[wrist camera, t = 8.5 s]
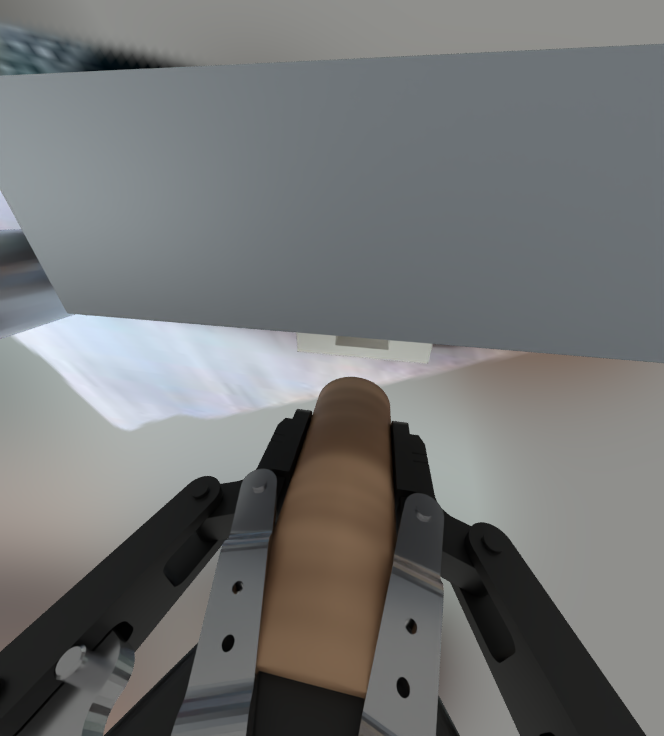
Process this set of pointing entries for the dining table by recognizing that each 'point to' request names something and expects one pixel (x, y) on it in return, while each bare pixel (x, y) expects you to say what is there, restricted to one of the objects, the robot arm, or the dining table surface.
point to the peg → (333, 545)
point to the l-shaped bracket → (356, 198)
